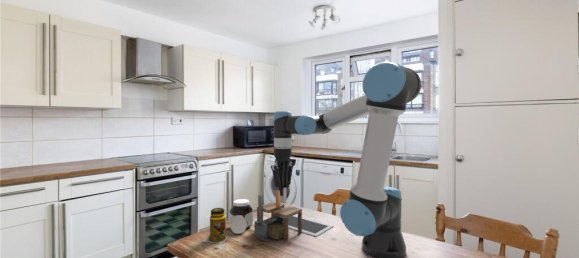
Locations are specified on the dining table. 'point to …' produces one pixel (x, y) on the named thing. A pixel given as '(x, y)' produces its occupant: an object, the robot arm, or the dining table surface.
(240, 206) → the spread jar
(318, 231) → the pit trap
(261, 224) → the slider frame
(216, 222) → the condiment
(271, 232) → the stone block
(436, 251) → the dining table surface
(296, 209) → the brown wooden table
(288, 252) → the dining table surface
